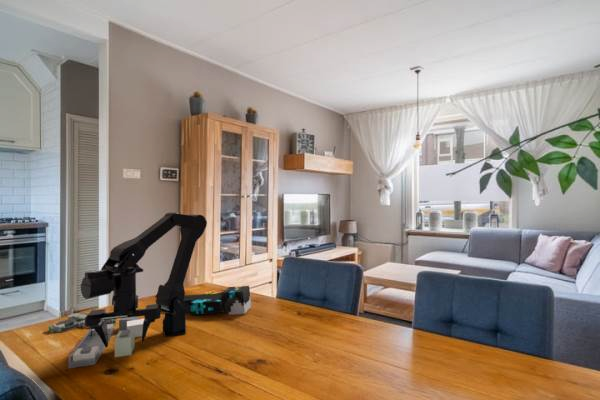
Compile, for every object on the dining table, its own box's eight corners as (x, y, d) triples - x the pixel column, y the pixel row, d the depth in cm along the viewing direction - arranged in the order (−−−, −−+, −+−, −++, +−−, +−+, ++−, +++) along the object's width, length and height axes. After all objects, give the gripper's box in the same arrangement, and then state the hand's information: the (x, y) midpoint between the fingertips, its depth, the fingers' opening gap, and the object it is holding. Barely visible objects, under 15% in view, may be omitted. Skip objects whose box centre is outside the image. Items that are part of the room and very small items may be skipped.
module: (134, 346, 97) (134, 327, 97) (130, 355, 91) (130, 335, 91) (119, 348, 96) (119, 329, 96) (114, 357, 90) (114, 337, 90)
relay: (144, 330, 109) (143, 318, 109) (144, 336, 104) (144, 323, 104) (127, 333, 106) (126, 321, 106) (127, 339, 102) (127, 326, 102)
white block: (138, 325, 113) (138, 314, 113) (131, 331, 108) (131, 319, 108) (126, 326, 112) (126, 314, 112) (119, 332, 108) (119, 319, 107)
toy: (181, 288, 138) (251, 283, 134) (183, 308, 138) (253, 303, 134) (161, 299, 123) (239, 294, 119) (163, 321, 123) (241, 317, 119)
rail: (114, 332, 107) (114, 321, 107) (95, 364, 86) (94, 351, 86) (93, 334, 105) (93, 324, 105) (68, 368, 84) (68, 355, 84)
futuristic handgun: (88, 331, 103) (124, 313, 118) (41, 325, 107) (81, 309, 122) (88, 339, 103) (124, 321, 118) (41, 334, 108) (81, 316, 122)
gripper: (162, 280, 104) (162, 329, 104) (95, 285, 98) (95, 337, 98) (159, 289, 94) (159, 344, 94) (83, 296, 88) (84, 354, 88)
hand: (125, 344), depth 94 cm, fingers open, 9 cm apart
